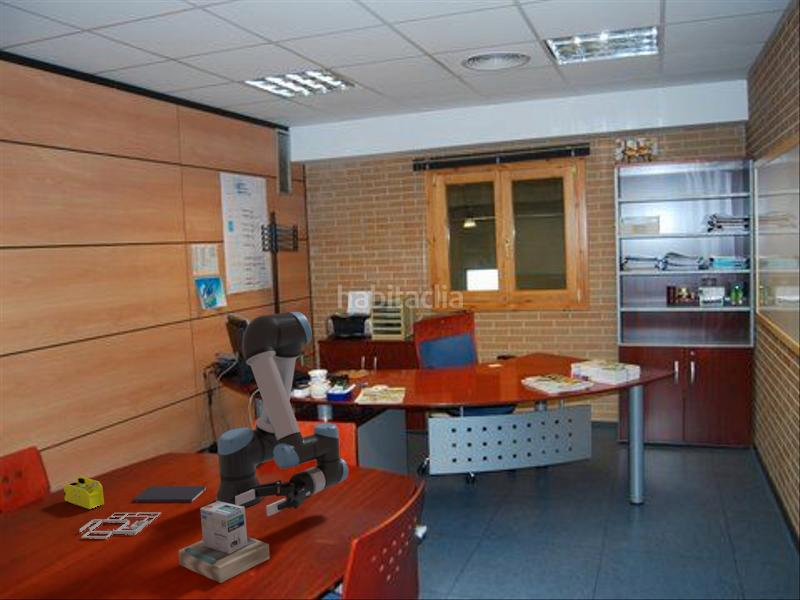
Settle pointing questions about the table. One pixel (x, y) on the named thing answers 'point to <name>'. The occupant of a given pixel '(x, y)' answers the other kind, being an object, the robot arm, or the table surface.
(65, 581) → the table surface
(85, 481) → the yellow toy chassis
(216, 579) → the dock
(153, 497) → the notebook
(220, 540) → the light bulb box
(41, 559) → the table surface
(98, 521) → the floor plan model
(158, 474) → the table surface
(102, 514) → the table surface
